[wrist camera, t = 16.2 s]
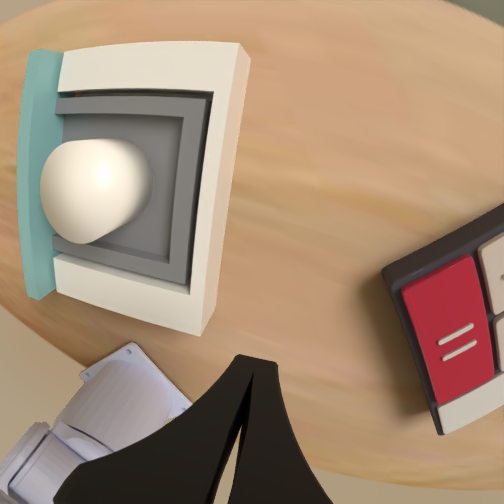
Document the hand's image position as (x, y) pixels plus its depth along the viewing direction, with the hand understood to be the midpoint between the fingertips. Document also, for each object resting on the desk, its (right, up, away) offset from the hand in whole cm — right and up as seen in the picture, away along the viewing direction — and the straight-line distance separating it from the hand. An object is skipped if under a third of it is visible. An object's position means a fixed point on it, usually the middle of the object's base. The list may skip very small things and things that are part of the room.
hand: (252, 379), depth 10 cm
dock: (-7, +9, +9) cm, 15 cm away
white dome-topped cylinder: (-8, +8, +7) cm, 14 cm away
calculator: (+16, -1, +9) cm, 19 cm away
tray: (-8, +9, +8) cm, 15 cm away
